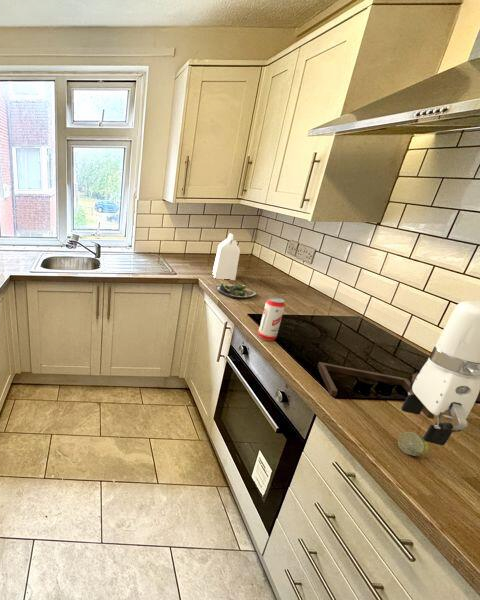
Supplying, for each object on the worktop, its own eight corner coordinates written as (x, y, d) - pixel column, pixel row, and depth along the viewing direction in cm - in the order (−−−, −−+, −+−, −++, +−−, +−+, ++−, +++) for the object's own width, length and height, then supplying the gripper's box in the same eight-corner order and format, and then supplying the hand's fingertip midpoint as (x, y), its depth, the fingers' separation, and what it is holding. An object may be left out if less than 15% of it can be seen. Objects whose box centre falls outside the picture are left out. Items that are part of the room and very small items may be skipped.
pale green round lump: (421, 463, 70) (431, 446, 68) (392, 449, 73) (401, 432, 71) (425, 453, 72) (435, 437, 70) (397, 440, 76) (405, 424, 74)
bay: (404, 383, 96) (407, 378, 95) (433, 418, 83) (436, 412, 82) (317, 367, 104) (318, 361, 103) (330, 395, 91) (332, 390, 90)
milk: (212, 273, 201) (219, 232, 191) (231, 274, 198) (240, 233, 188) (214, 278, 190) (222, 235, 180) (235, 280, 187) (244, 236, 177)
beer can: (278, 338, 122) (289, 300, 116) (270, 343, 118) (281, 304, 112) (262, 332, 127) (272, 295, 120) (254, 336, 123) (263, 298, 117)
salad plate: (236, 285, 179) (238, 277, 177) (264, 295, 164) (266, 287, 162) (210, 289, 172) (211, 281, 170) (237, 301, 157) (238, 292, 155)
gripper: (517, 391, 55) (469, 462, 61) (455, 345, 69) (422, 406, 76) (459, 380, 57) (418, 449, 64) (411, 338, 72) (382, 398, 79)
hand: (420, 426), depth 70 cm, fingers open, 9 cm apart
